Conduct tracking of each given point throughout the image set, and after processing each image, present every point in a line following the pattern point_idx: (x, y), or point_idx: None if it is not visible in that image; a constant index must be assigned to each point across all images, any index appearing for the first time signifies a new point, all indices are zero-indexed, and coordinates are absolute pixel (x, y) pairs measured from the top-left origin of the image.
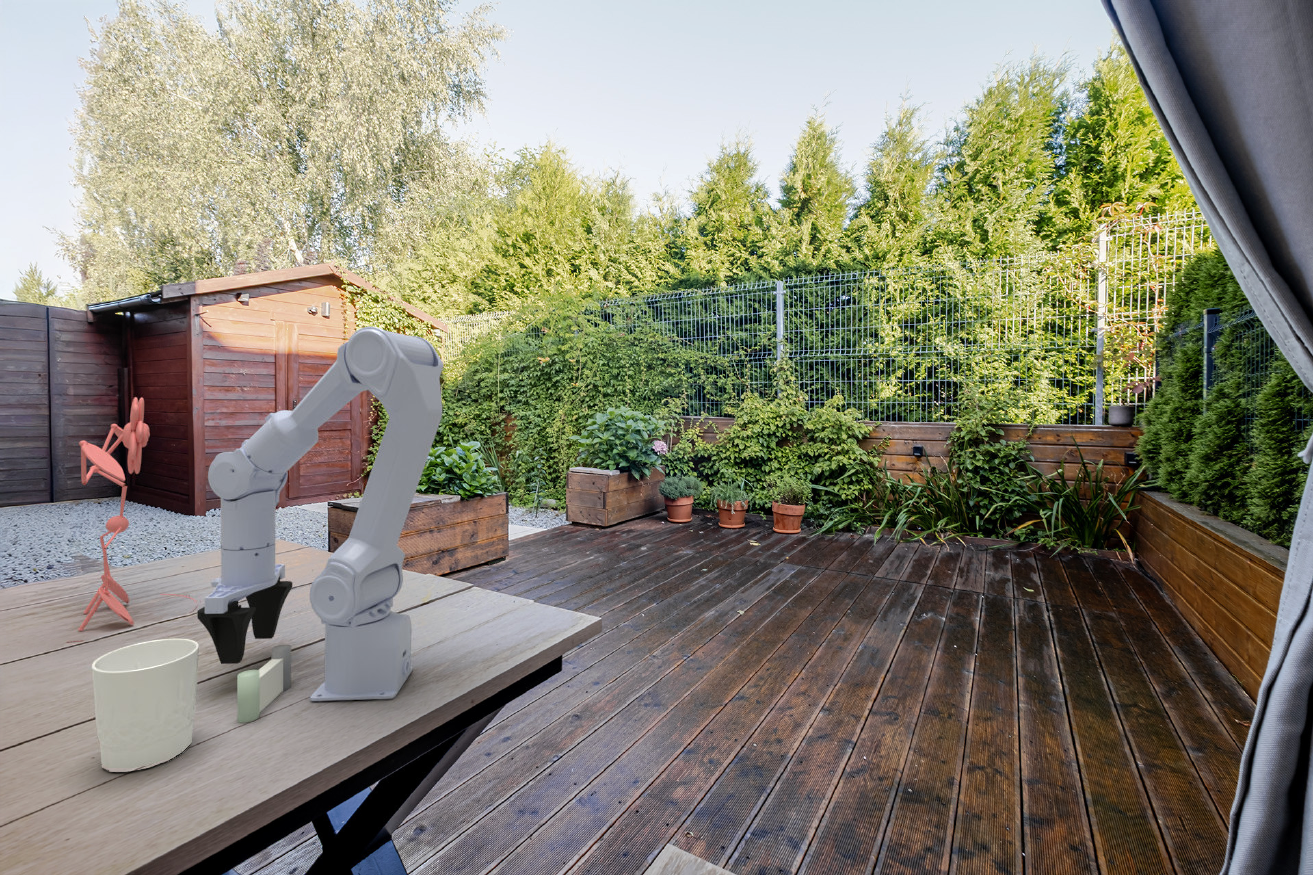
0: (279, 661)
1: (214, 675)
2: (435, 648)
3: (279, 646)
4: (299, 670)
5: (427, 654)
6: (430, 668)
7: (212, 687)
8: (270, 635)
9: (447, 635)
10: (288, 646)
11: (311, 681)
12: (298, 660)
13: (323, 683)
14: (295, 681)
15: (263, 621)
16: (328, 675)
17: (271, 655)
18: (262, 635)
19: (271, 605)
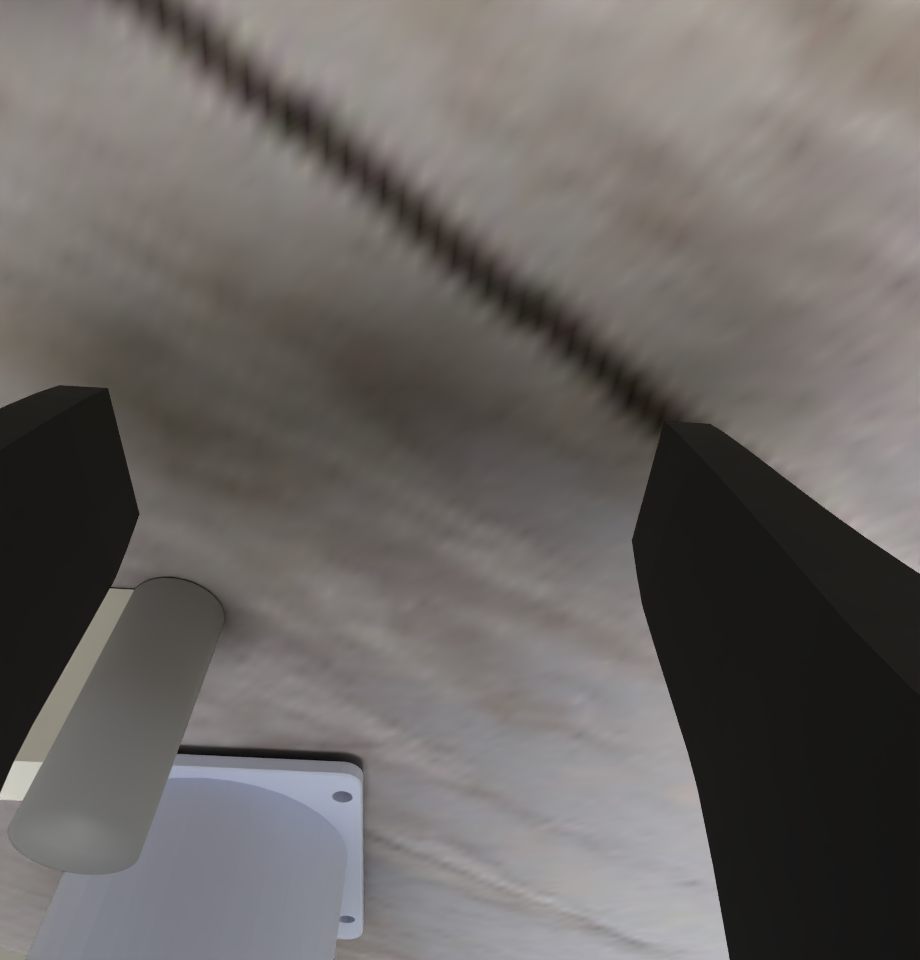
0: (14, 798)
1: (362, 125)
2: (568, 941)
3: (94, 832)
4: (403, 619)
5: (512, 931)
6: (379, 946)
7: (141, 230)
8: (641, 554)
9: (699, 953)
10: (106, 865)
11: (263, 695)
12: (556, 575)
13: (183, 770)
14: (261, 641)
15: (706, 607)
16: (66, 882)
17: (50, 768)
18: (653, 501)
19: (750, 850)
